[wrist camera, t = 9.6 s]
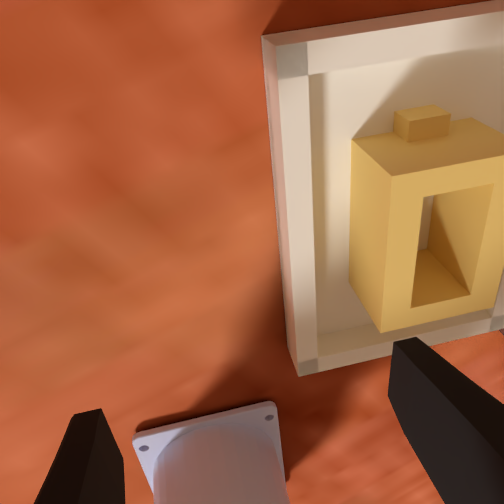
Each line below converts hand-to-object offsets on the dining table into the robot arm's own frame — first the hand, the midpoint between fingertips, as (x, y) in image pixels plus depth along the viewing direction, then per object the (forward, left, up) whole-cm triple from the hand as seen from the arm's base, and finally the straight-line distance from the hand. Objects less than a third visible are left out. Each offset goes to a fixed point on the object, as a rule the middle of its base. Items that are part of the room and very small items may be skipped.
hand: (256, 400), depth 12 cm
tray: (-1, -8, -9) cm, 13 cm away
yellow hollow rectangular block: (-1, -8, -9) cm, 12 cm away
